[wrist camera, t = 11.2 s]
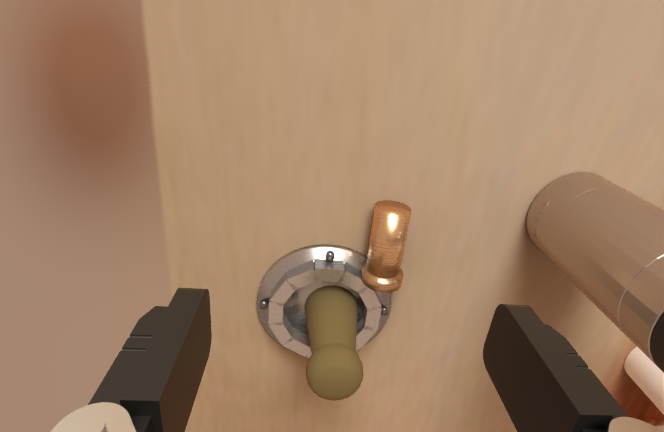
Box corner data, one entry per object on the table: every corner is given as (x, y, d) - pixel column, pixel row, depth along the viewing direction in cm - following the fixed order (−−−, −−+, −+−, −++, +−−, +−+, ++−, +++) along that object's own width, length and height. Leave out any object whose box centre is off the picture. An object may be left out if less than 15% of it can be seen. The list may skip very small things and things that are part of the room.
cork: (333, 336, 47) (338, 420, 37) (293, 310, 45) (286, 390, 35) (369, 304, 45) (384, 383, 35) (328, 275, 43) (332, 350, 33)
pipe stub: (369, 199, 40) (374, 217, 36) (410, 202, 41) (420, 220, 37) (359, 268, 44) (363, 291, 40) (397, 270, 44) (404, 293, 40)
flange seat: (400, 249, 43) (404, 261, 41) (380, 355, 49) (383, 370, 47) (258, 240, 42) (255, 251, 40) (256, 349, 48) (253, 365, 46)
